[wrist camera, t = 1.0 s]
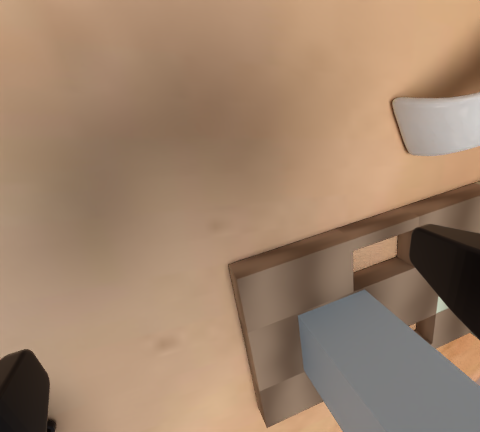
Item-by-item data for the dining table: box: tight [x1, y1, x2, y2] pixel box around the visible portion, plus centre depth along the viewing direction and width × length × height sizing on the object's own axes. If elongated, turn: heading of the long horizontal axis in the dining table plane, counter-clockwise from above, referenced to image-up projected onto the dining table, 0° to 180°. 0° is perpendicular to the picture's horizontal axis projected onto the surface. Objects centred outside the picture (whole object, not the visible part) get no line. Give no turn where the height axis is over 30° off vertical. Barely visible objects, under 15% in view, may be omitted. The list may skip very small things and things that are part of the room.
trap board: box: [228, 181, 480, 428], centre depth 26 cm, size 24×16×7 cm, turn 100°
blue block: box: [298, 290, 480, 432], centre depth 21 cm, size 6×6×13 cm
